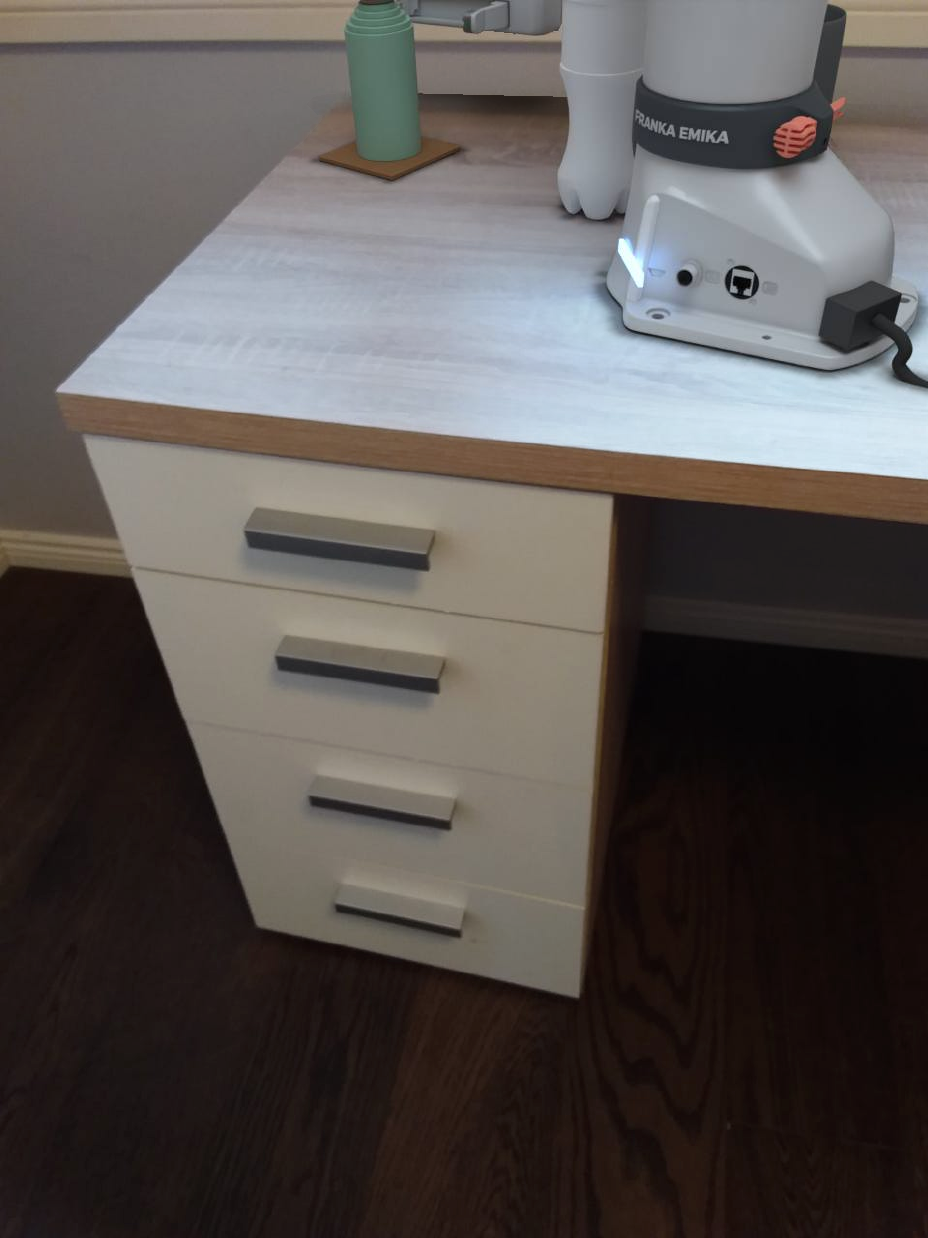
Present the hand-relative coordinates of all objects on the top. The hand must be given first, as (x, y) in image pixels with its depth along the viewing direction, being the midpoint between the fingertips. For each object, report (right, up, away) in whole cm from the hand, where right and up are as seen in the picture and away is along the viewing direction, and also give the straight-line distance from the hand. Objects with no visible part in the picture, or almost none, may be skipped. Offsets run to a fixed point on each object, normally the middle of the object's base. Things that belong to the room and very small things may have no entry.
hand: (427, 19), depth 100 cm
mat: (-4, -13, +1) cm, 13 cm away
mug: (+31, -14, -2) cm, 34 cm away
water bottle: (+15, -23, -11) cm, 30 cm away
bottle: (-4, -12, +1) cm, 13 cm away
